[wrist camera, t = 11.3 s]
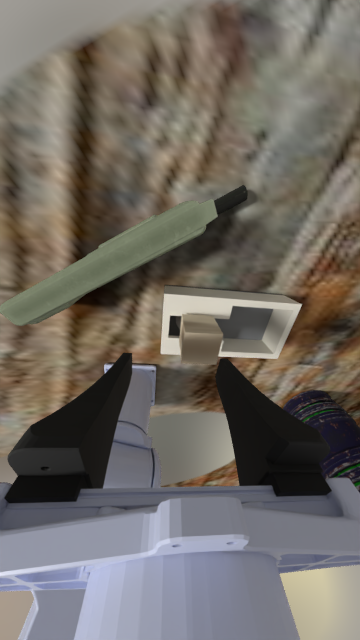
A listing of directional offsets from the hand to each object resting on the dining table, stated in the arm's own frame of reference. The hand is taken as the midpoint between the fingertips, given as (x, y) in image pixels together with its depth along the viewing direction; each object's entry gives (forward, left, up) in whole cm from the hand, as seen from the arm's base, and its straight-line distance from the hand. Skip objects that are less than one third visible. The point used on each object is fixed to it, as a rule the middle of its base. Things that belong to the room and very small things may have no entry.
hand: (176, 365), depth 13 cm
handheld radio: (+8, +5, -11) cm, 14 cm away
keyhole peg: (0, -2, -10) cm, 10 cm away
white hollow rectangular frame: (0, -6, -10) cm, 12 cm away
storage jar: (-19, -29, -11) cm, 36 cm away
